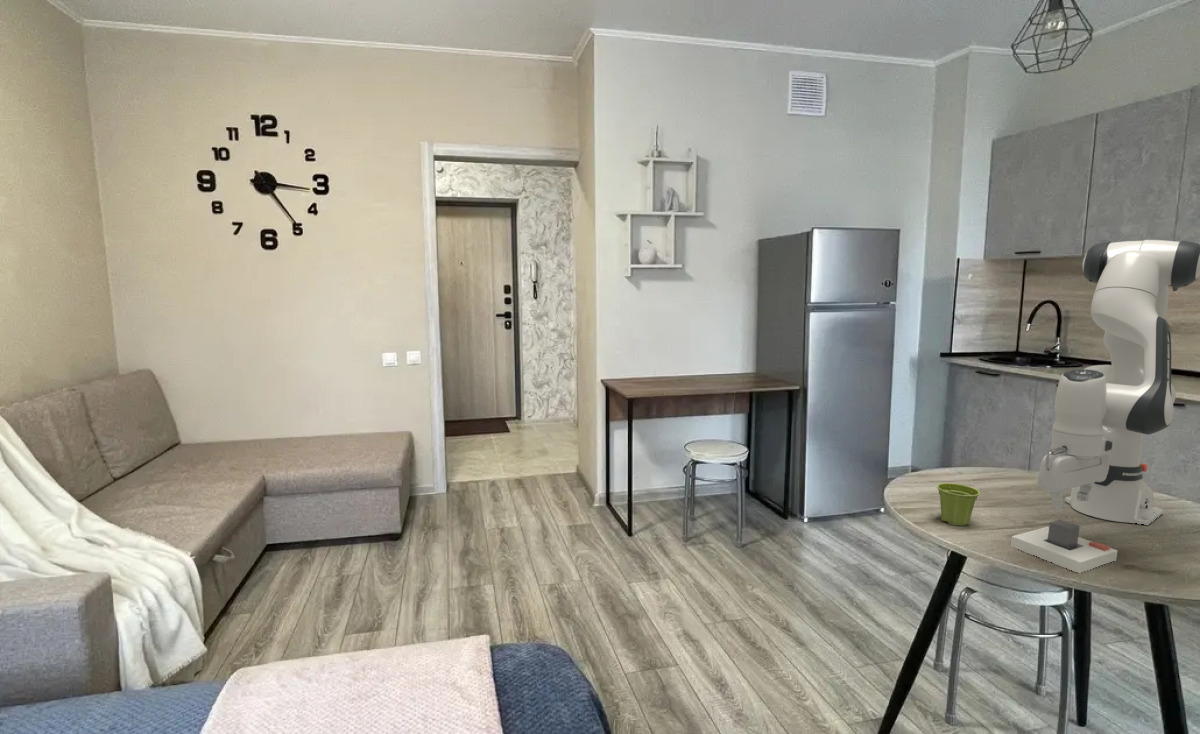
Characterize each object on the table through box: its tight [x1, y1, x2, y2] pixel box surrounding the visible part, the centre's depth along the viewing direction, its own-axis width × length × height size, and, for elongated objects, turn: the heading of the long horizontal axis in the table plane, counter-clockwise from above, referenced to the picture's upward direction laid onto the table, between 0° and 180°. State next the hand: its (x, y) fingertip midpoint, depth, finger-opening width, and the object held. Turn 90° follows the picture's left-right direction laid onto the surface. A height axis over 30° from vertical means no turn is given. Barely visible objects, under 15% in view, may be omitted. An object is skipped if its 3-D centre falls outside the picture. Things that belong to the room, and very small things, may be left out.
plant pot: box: [936, 482, 981, 527], centre depth 152 cm, size 9×9×9 cm
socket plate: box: [1010, 526, 1118, 574], centre depth 135 cm, size 14×14×3 cm
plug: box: [1047, 519, 1081, 550], centre depth 135 cm, size 4×4×7 cm
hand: (1070, 504), depth 133 cm, fingers open, 8 cm apart
